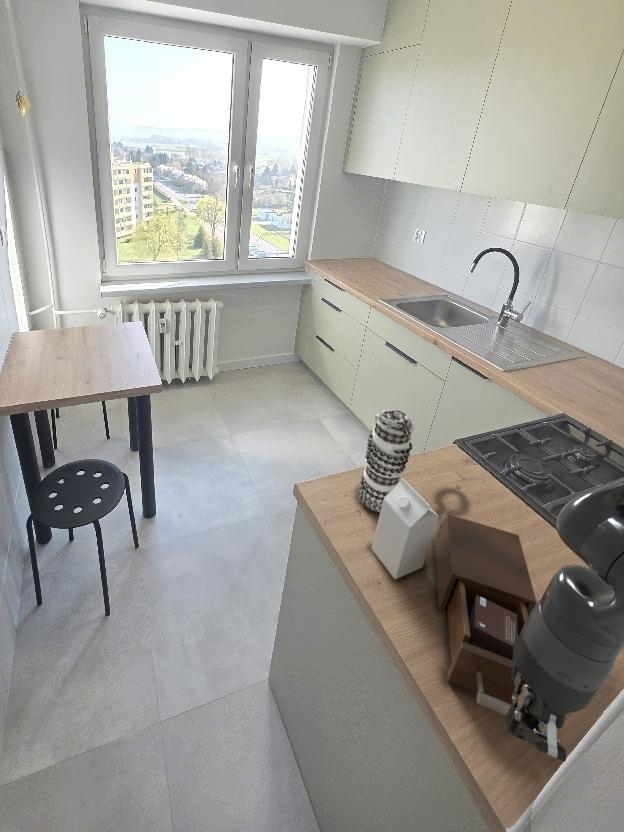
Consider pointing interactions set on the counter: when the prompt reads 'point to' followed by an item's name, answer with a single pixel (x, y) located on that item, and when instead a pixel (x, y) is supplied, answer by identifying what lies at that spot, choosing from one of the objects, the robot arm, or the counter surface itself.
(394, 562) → the milk carton
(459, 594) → the drawer
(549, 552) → the counter surface
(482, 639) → the box
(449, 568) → the cabinet
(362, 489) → the decorative candle
